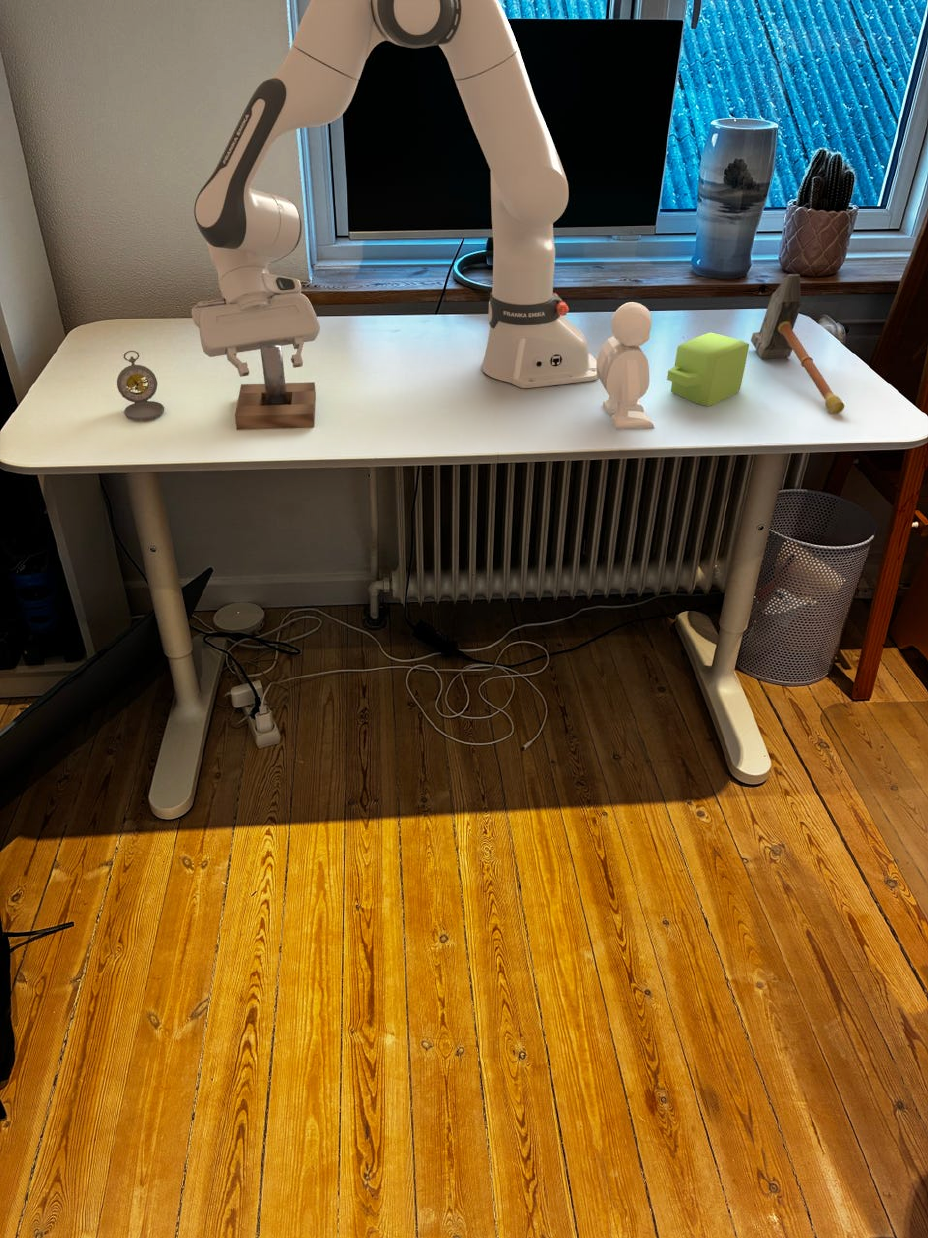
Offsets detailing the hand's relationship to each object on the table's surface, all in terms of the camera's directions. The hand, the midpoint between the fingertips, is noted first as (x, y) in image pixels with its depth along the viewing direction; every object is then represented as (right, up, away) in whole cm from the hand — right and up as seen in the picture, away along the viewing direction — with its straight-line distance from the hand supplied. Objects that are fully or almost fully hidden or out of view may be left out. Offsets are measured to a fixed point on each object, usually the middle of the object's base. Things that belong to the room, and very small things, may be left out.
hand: (271, 370), depth 162 cm
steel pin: (0, -6, +4) cm, 7 cm away
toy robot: (+60, -7, +5) cm, 61 cm away
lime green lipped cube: (+77, 0, +15) cm, 79 cm away
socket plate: (0, -6, +4) cm, 7 cm away
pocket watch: (-23, -6, +4) cm, 24 cm away
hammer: (+96, +3, +19) cm, 98 cm away
